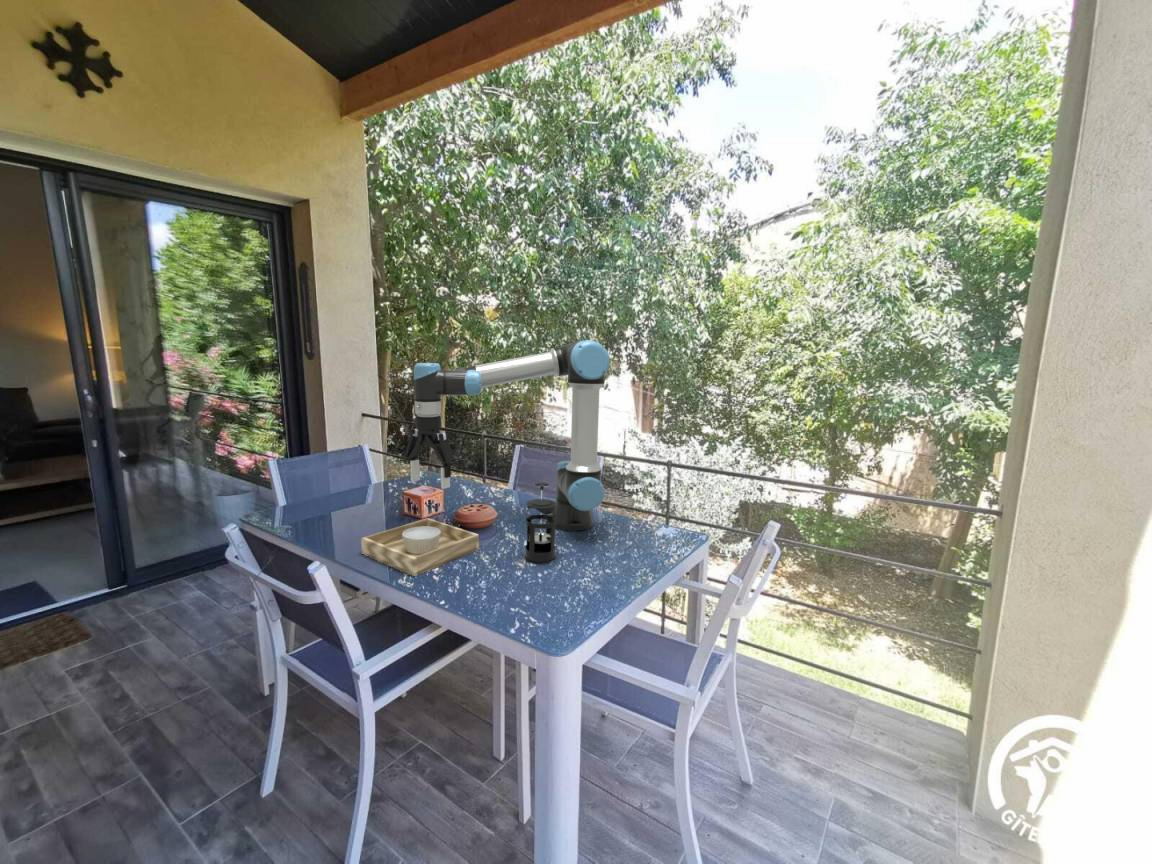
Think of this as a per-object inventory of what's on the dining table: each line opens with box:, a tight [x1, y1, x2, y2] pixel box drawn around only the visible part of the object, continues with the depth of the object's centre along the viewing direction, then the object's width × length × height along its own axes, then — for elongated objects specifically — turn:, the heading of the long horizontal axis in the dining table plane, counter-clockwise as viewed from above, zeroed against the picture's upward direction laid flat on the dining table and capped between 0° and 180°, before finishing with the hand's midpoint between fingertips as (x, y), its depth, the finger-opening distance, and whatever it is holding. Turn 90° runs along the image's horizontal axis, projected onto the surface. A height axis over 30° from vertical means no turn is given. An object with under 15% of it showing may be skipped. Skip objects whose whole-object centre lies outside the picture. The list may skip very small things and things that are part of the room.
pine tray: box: [360, 517, 480, 577], centre depth 153 cm, size 24×24×5 cm
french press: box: [523, 481, 557, 565], centre depth 151 cm, size 12×9×23 cm
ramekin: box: [402, 526, 441, 554], centre depth 153 cm, size 11×11×5 cm
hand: (430, 484), depth 155 cm, fingers open, 13 cm apart
